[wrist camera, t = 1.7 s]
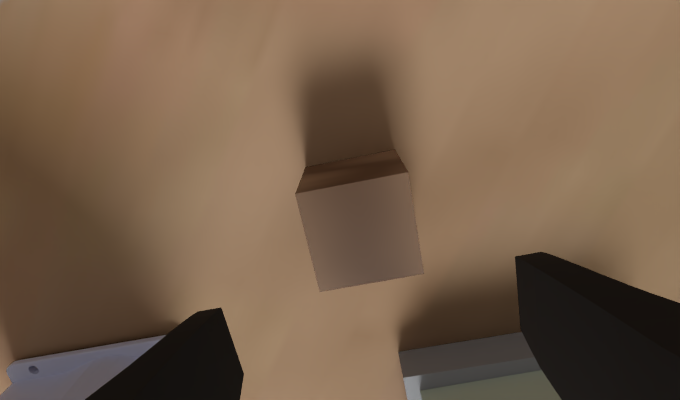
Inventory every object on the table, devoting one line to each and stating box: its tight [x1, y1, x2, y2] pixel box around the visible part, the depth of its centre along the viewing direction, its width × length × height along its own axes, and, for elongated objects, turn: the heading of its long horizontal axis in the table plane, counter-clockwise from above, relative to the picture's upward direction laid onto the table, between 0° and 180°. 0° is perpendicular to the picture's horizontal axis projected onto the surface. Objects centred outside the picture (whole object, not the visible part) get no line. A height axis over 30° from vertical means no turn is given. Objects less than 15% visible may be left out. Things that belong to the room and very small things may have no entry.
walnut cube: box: [295, 150, 424, 292], centre depth 17 cm, size 4×4×4 cm
